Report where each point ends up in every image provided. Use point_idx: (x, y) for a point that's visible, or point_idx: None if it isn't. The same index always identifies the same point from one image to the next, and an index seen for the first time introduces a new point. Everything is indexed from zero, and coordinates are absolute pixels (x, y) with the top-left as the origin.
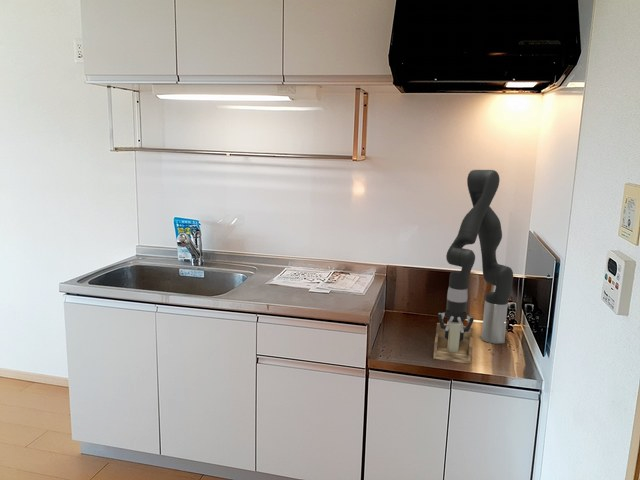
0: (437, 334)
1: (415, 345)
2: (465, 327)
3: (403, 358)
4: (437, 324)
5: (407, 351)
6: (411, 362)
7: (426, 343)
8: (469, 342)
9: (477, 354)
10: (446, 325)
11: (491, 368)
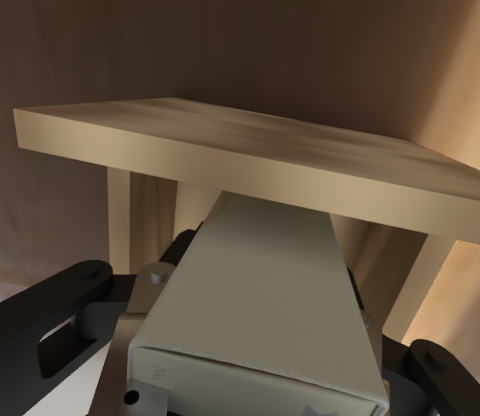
0: (120, 169)
1: (52, 75)
2: (446, 236)
3: (35, 255)
4: (37, 144)
5: (31, 176)
6: None
7: (113, 16)
8: (389, 312)
9: (455, 157)
10: (134, 303)
11: (454, 327)
